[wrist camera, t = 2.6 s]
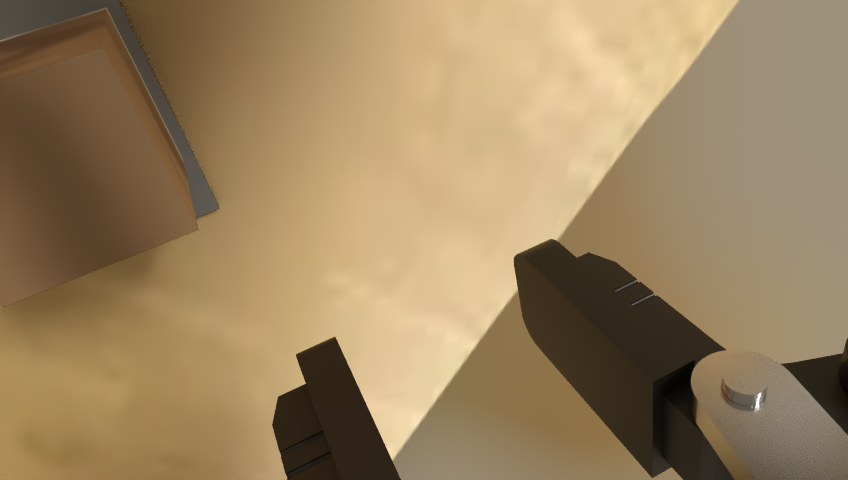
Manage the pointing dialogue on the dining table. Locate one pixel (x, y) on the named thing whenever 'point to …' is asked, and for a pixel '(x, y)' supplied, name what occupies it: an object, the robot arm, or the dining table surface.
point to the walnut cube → (81, 158)
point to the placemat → (50, 3)
